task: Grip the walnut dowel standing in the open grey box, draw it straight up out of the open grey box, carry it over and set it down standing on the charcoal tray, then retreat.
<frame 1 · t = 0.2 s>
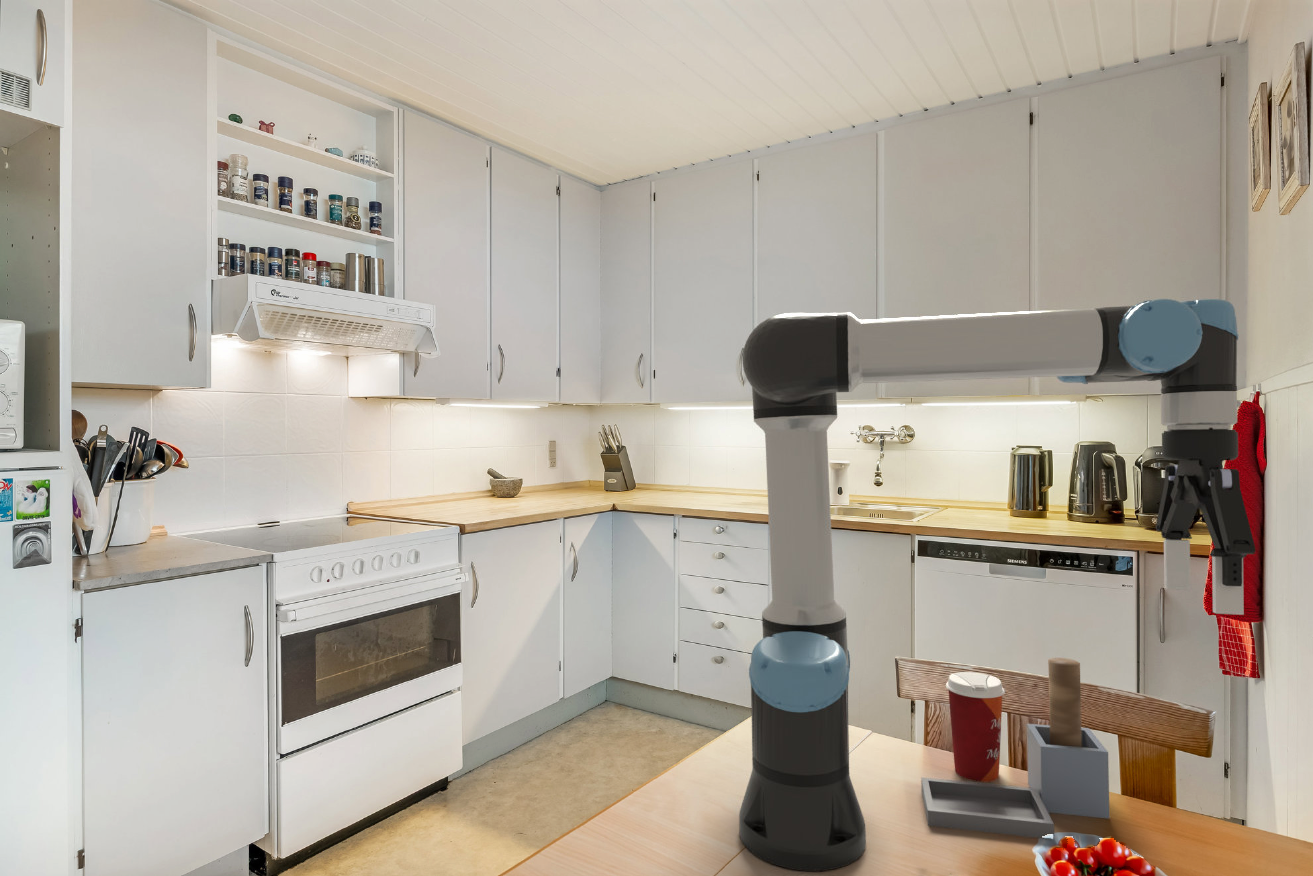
hand: (1200, 600, 90), 28 cm above the table, fingers open, 13 cm apart
open grey box: (1066, 806, 95), on the table
tray: (983, 819, 92), on the table
dowel: (1066, 800, 95), point 1 cm above the table, touching open grey box
paper cup: (976, 779, 103), on the table
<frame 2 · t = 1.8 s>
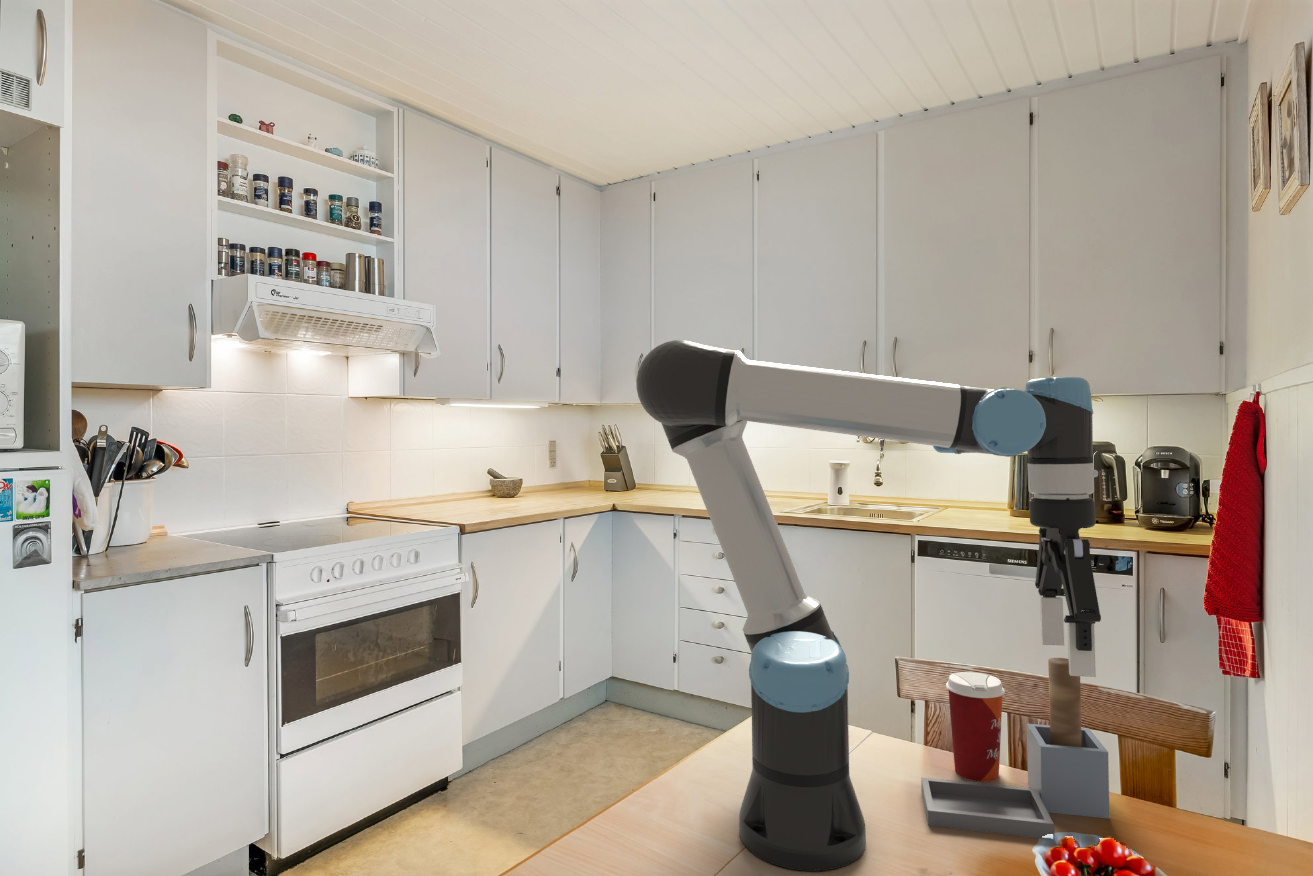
hand: (1066, 659, 95), 19 cm above the table, fingers open, 13 cm apart
nothing on the table moved.
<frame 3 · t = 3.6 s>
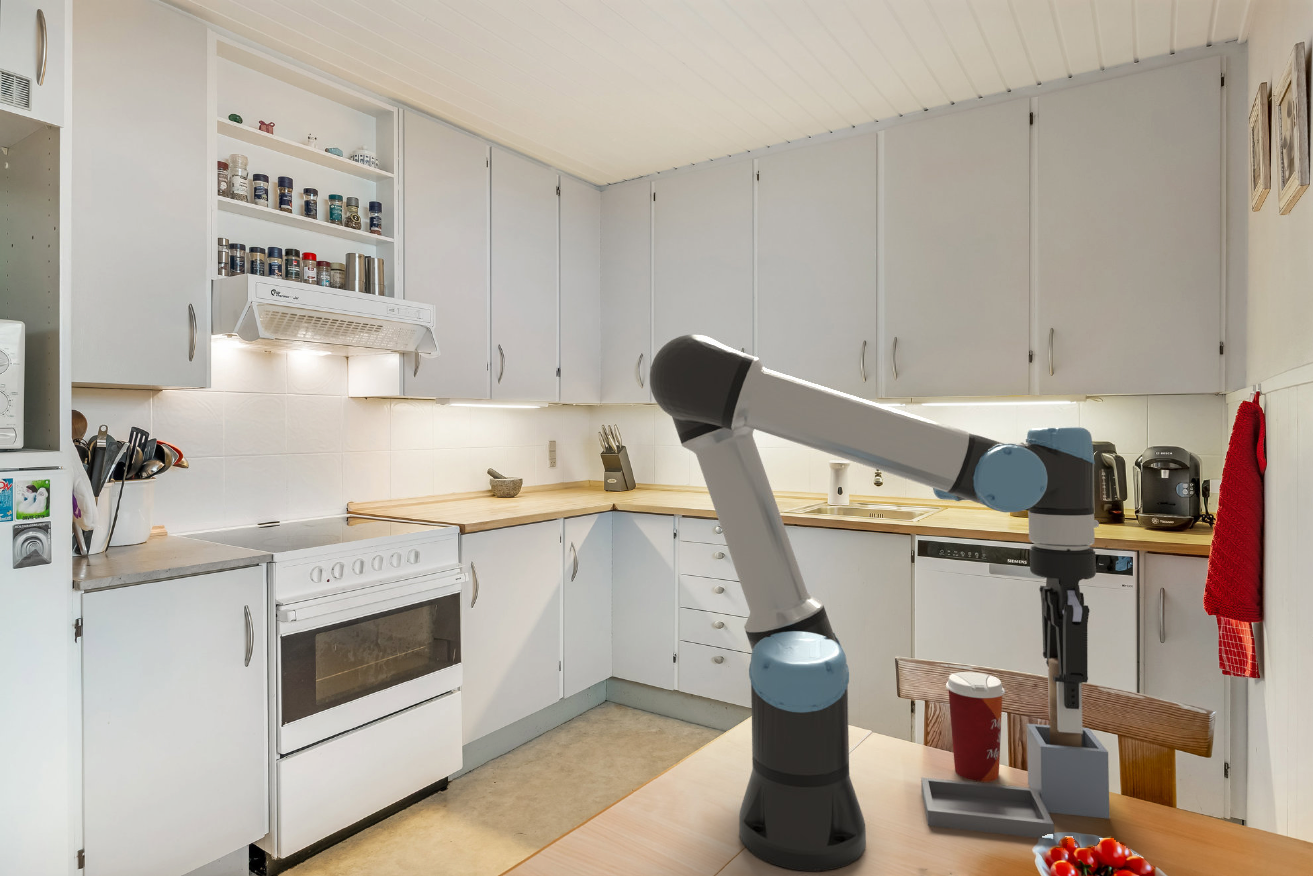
hand: (1065, 724, 95), 11 cm above the table, fingers closed on dowel, 3 cm apart
dowel: (1066, 800, 95), point 1 cm above the table, touching open grey box, gripper
everything else where it was.
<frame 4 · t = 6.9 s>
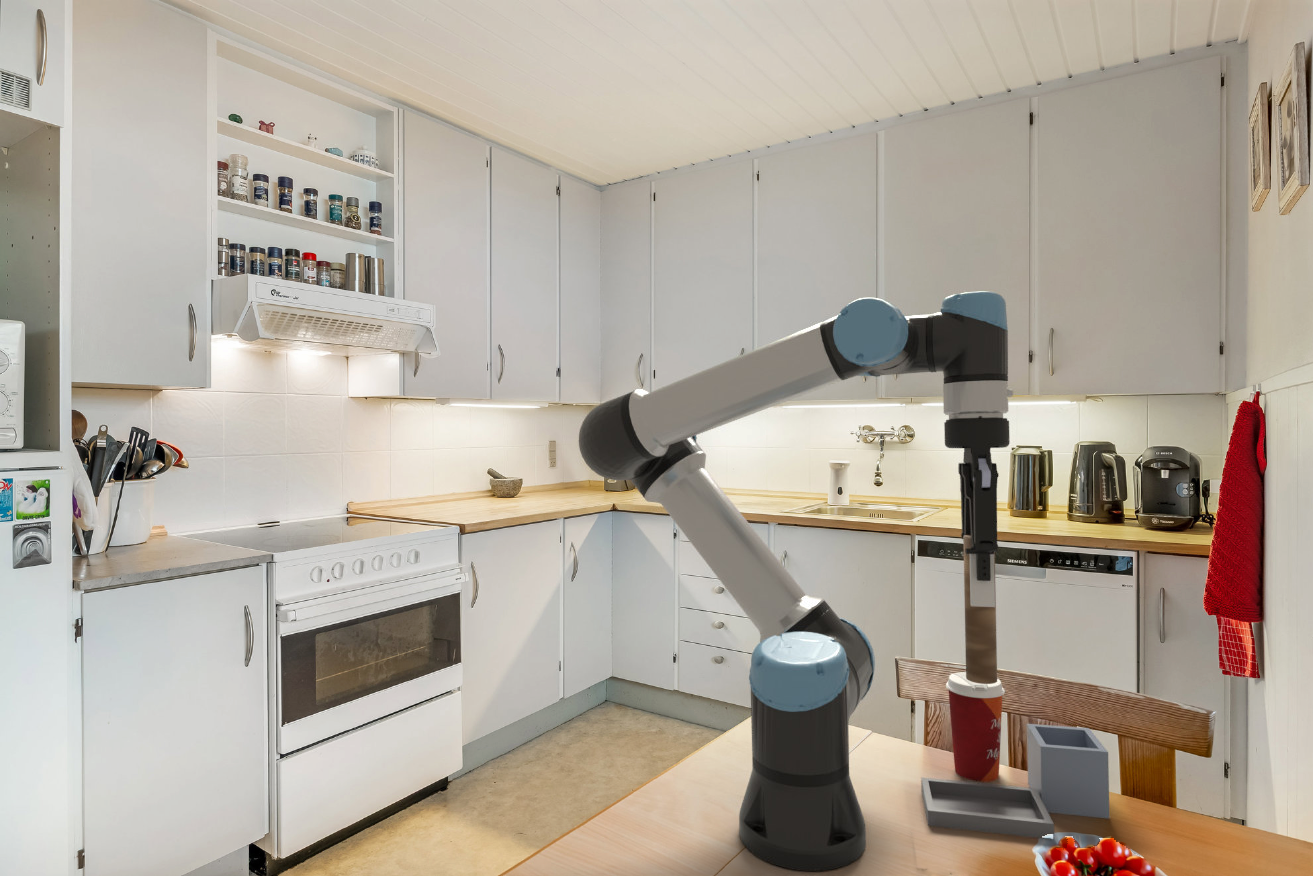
hand: (979, 601, 92), 28 cm above the table, fingers closed on dowel, 3 cm apart
dowel: (981, 679, 92), point 18 cm above the table, touching gripper
everything else where it was.
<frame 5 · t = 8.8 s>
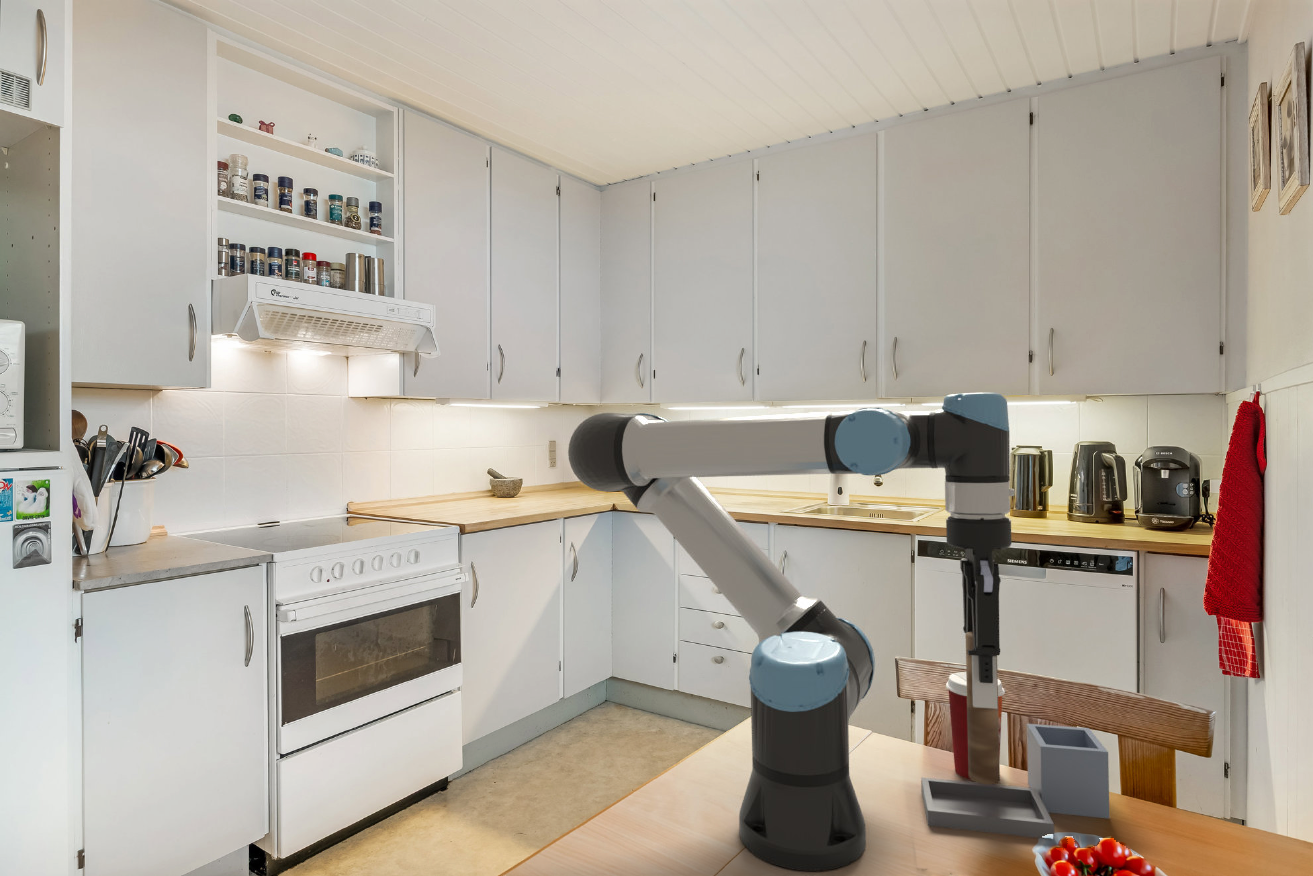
hand: (982, 700, 92), 15 cm above the table, fingers closed on dowel, 3 cm apart
dowel: (984, 777, 92), point 5 cm above the table, touching gripper
everything else where it was.
when the fingers open (12 cm above the table, at t = 10.3 s): dowel drops 2 cm, resting on tray.
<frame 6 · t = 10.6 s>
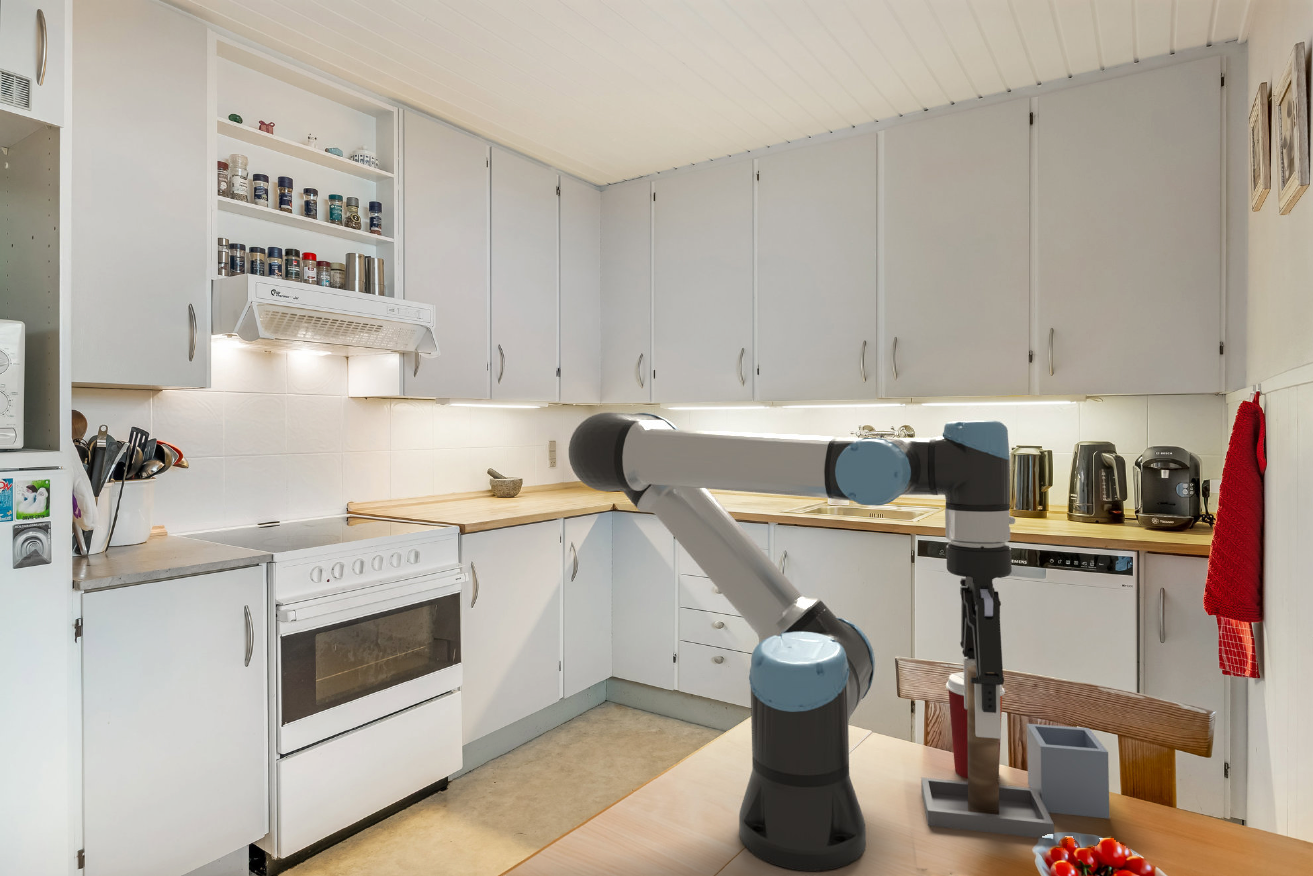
hand: (981, 722, 92), 12 cm above the table, fingers open, 8 cm apart
dowel: (983, 811, 92), point 1 cm above the table, touching tray
everything else where it was.
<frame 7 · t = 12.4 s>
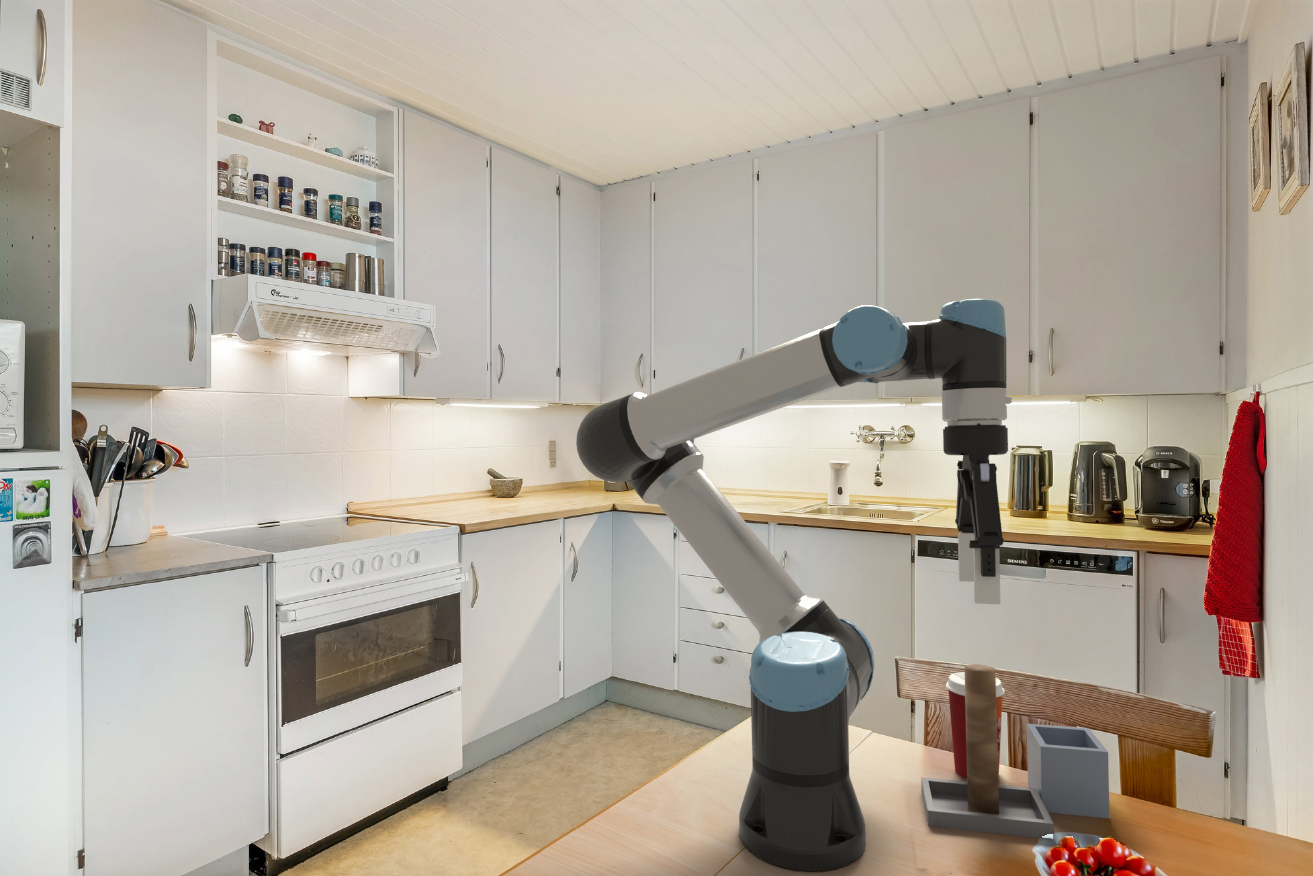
hand: (978, 591, 92), 29 cm above the table, fingers open, 13 cm apart
nothing on the table moved.
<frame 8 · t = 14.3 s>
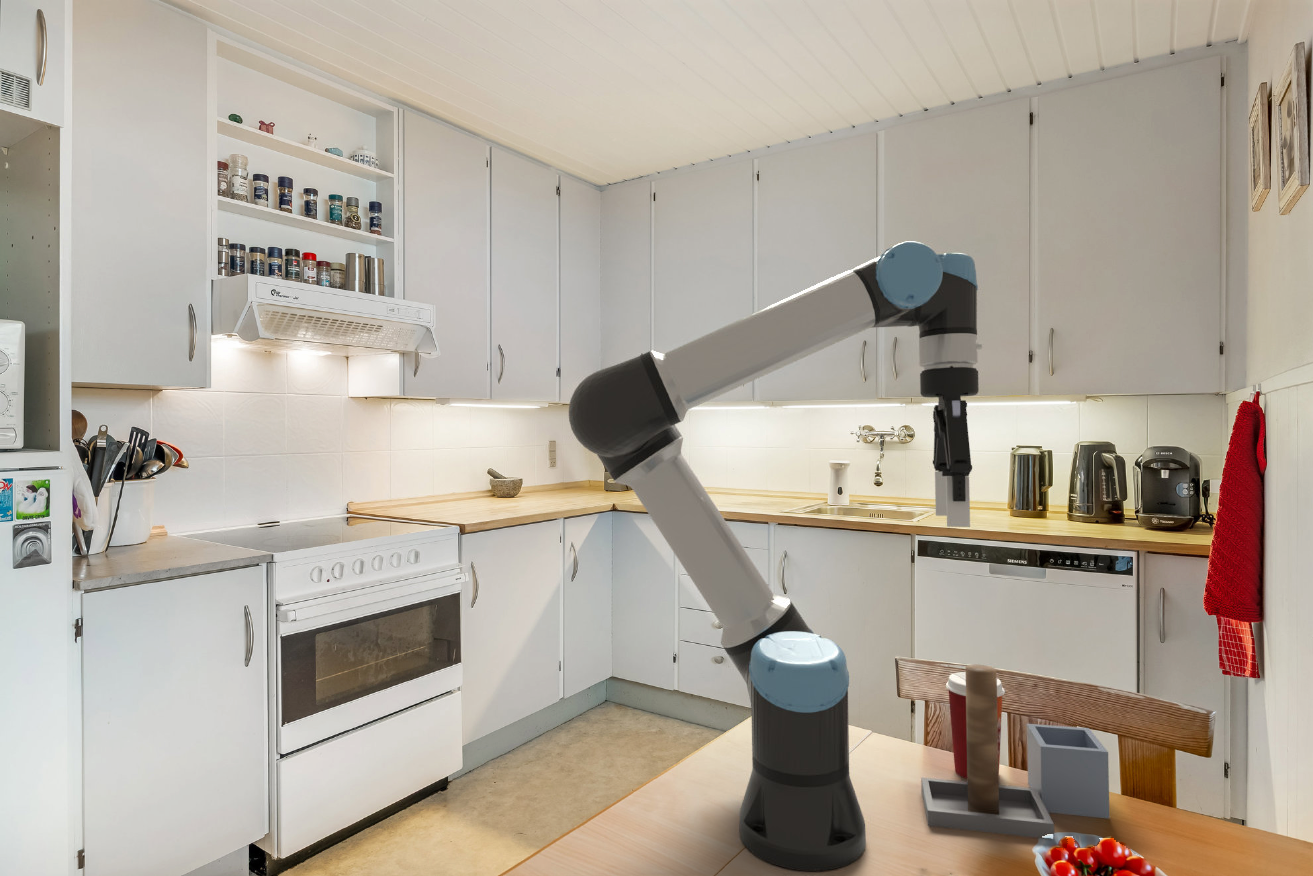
hand: (951, 521, 101), 37 cm above the table, fingers open, 13 cm apart
nothing on the table moved.
at the end: dowel inside the target area on the tray (0.0 cm from its centre), point 1.0 cm above the tray's base; dowel touching tray; the gripper is holding nothing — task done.
